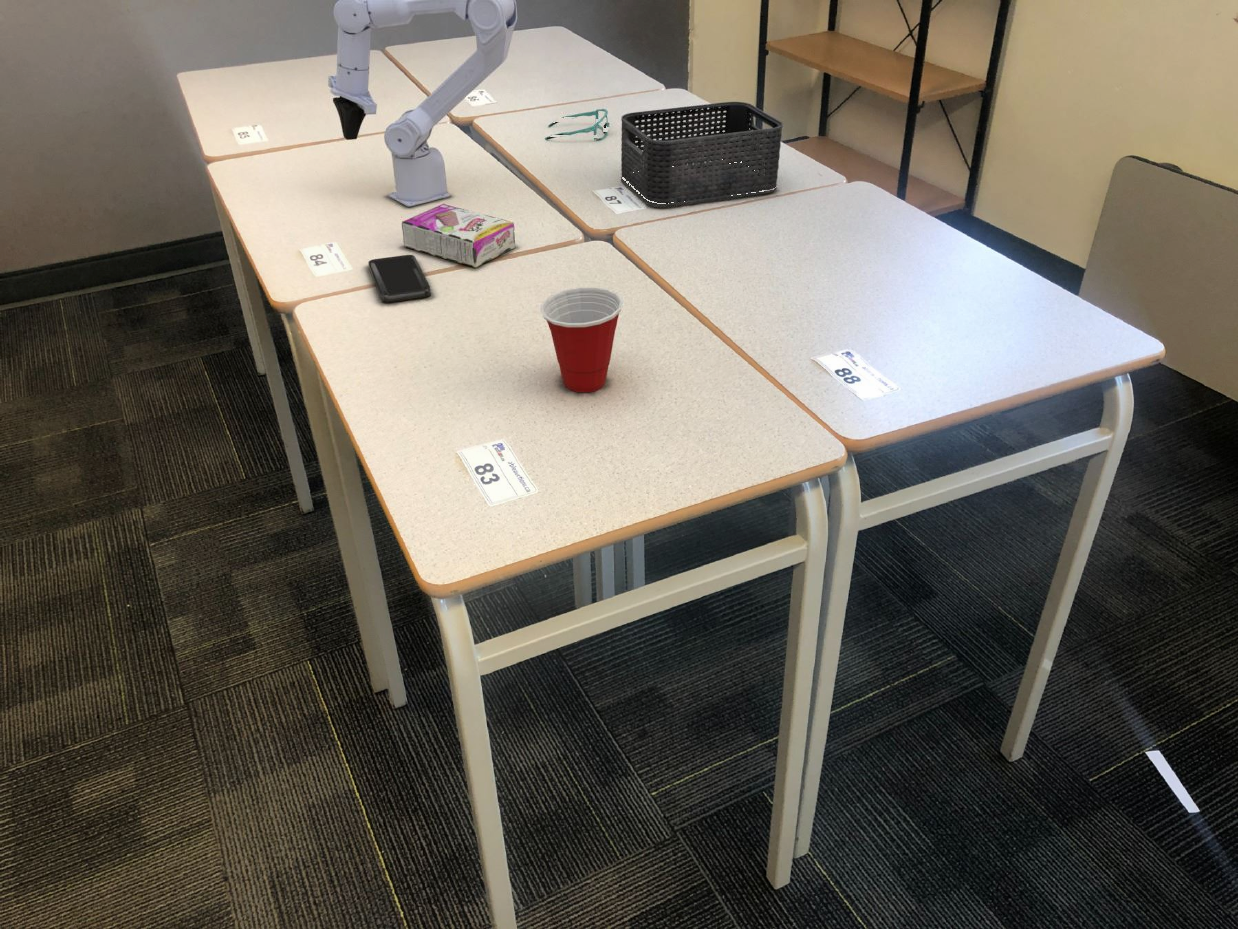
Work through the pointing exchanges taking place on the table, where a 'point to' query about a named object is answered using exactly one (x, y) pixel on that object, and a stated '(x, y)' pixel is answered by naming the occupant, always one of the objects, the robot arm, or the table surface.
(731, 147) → the storage bin
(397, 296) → the phone
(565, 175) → the table surface
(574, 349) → the plastic cup
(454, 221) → the candy bar box
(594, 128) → the sunglasses
